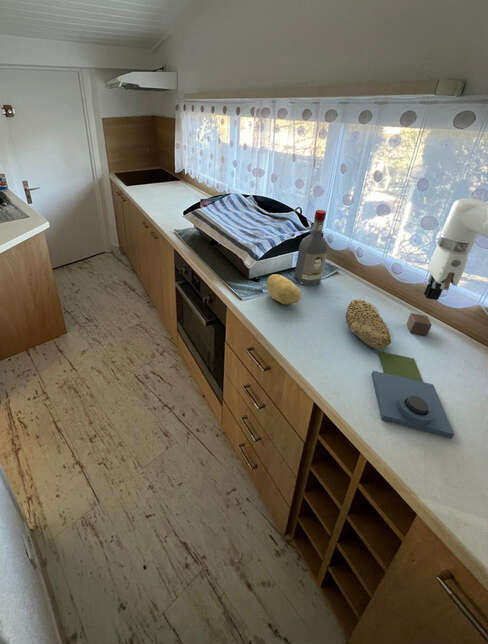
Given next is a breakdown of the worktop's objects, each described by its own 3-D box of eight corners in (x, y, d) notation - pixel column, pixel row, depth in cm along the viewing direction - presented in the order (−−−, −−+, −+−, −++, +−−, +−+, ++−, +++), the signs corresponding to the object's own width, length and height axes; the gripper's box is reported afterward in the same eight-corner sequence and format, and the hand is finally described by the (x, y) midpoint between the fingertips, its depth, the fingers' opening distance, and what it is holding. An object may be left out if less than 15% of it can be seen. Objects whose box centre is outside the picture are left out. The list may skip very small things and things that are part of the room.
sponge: (342, 311, 111) (339, 336, 94) (352, 293, 108) (351, 315, 91) (381, 329, 106) (385, 358, 89) (393, 310, 103) (399, 337, 86)
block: (422, 326, 101) (427, 315, 99) (426, 336, 97) (431, 324, 95) (406, 323, 103) (410, 313, 101) (410, 332, 99) (414, 321, 97)
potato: (273, 312, 109) (276, 289, 104) (263, 289, 122) (266, 268, 117) (301, 311, 109) (305, 289, 104) (289, 288, 122) (292, 268, 117)
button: (422, 402, 73) (425, 398, 72) (428, 417, 70) (431, 412, 69) (403, 398, 74) (406, 393, 73) (408, 412, 71) (410, 407, 70)
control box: (430, 388, 80) (435, 379, 79) (451, 439, 68) (458, 429, 67) (371, 374, 84) (374, 365, 83) (381, 419, 73) (385, 410, 71)
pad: (413, 359, 89) (413, 358, 89) (423, 384, 81) (423, 382, 81) (378, 352, 92) (379, 351, 91) (384, 375, 84) (385, 374, 84)
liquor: (291, 275, 131) (303, 208, 117) (310, 272, 132) (324, 206, 118) (302, 286, 123) (316, 216, 109) (323, 284, 124) (339, 214, 110)
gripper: (484, 257, 78) (455, 314, 86) (459, 234, 90) (436, 286, 99) (449, 253, 80) (424, 309, 89) (429, 231, 93) (409, 282, 101)
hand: (430, 297), depth 94 cm, fingers closed
